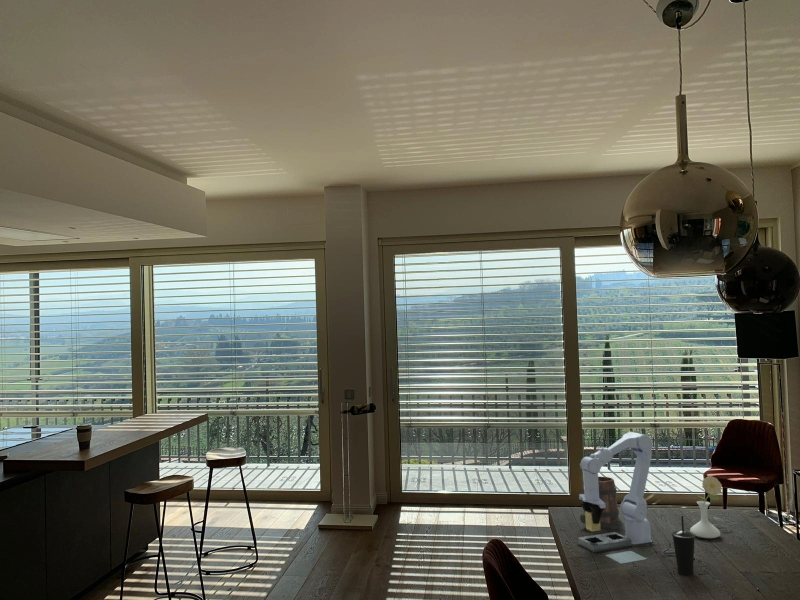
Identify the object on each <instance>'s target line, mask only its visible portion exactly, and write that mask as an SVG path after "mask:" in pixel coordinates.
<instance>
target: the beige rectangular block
mask: <svg viewBox="0 0 800 600" xmlns="http://www.w3.org/2000/svg"><path fill="white" fill-rule="evenodd" d="M584 514H585V518H586V524H585V529H586V530H587V531H590V532H597V531H601V528H602V527H600V522H599V524H594V522H593V515H592V511H591V510H588V511H585V512H584Z"/></svg>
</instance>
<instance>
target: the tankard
mask: <svg viewBox="0 0 800 600" xmlns="http://www.w3.org/2000/svg"><path fill="white" fill-rule="evenodd" d="M598 484H599V499H601V500H602V501H603V502H604V503H605V505H606V508H604V510H603V511H602V514H601V517H600V528H605V529H611V530H618V529H622V528H623V527H625V522H623V521H622V518H619V517H620V515H619V514H620V511H619V508H618V498H617V497H618V496H617V491H618V490H617V487H616V484H615V479H614V478H613V477H609V476H598ZM582 494H584V489H583V492H582ZM579 520H580V522H581V524H584V525H586V518H585V513H581V514H580V516H579Z"/></svg>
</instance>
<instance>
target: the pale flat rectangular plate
mask: <svg viewBox="0 0 800 600" xmlns="http://www.w3.org/2000/svg"><path fill="white" fill-rule="evenodd" d="M605 556H606V557H607V558H609V559H611V560H613V561H614V562H617V563H619V564H621V565H623V564H627V563H633V562H639V561H645V560H648V558H647V557H644V556H642V555H640V554H639V553H636V552H634V551H632V550H628V551H623V552H617V553H616V552H615V553H609V554H605Z"/></svg>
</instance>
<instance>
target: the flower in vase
mask: <svg viewBox="0 0 800 600" xmlns="http://www.w3.org/2000/svg"><path fill="white" fill-rule="evenodd" d="M701 484H702V489H703V491H705V493H706V494H707V496H706V497H704V496H701V495H699V494H698V493H696V496H697V497H698V498H701V499H703V500H699V501H698V500H697V501H696V503H697V506H698V507H699V510H700V517H701V518H700V520H699V521H698V522H697V523H695V524H694V525H692V526H691V527H690V529H689V532H691V533H693V534H695V537H698V538H704V539H716V538H719V537H720V536H721V531H720V530H719V529H718V528H717V527H716V526H715V525H713V524H712V523H711V522H710V521H709V520H708V508H709V506H710V504H711V503H710V502H709V501H707V499H711V500H712V501H719V500H720V497H719V496H718V494H720V493H722V490H723V486H722V485H723V484H722V483H721V481H719V479H718V478H717V477H715V476H710V475H709V476H707V477H705V478H703V480H702V482H701Z"/></svg>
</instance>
